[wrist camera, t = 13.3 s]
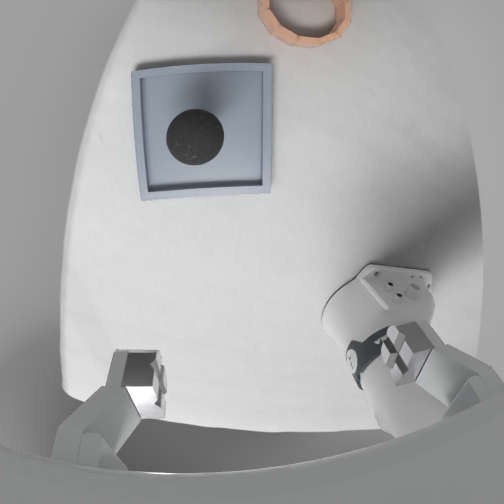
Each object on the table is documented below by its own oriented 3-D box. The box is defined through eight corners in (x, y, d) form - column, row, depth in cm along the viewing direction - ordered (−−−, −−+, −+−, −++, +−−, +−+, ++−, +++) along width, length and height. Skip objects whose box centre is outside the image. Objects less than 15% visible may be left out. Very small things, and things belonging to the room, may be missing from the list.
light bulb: (227, 146, 36) (229, 165, 27) (181, 155, 36) (168, 177, 27) (218, 101, 33) (218, 104, 24) (171, 111, 33) (155, 118, 24)
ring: (340, -18, 27) (349, -24, 24) (341, 51, 32) (351, 49, 29) (258, -29, 26) (262, -37, 23) (258, 44, 31) (262, 39, 28)
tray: (269, 64, 32) (272, 63, 31) (267, 188, 40) (270, 193, 38) (134, 72, 30) (131, 71, 29) (143, 196, 38) (141, 200, 36)
